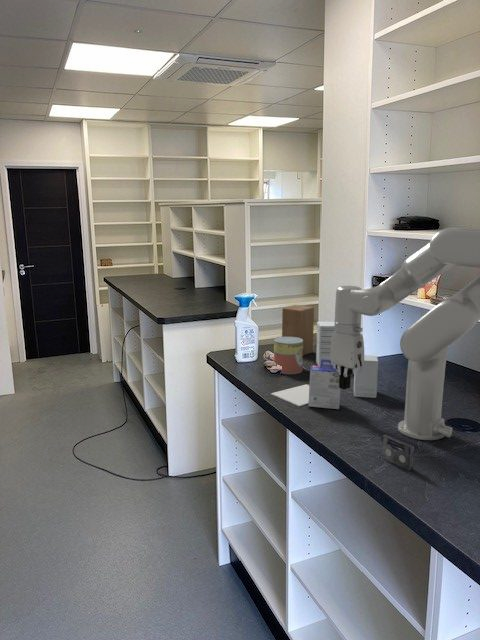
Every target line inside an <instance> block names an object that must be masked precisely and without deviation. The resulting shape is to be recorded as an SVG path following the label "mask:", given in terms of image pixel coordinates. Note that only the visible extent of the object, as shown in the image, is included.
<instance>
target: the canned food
mask: <svg viewBox="0 0 480 640" xmlns="http://www.w3.org/2000/svg"><path fill="white" fill-rule="evenodd" d="M303 356H304V355H303V339H301V338H298V337H282V336H278V337H275V338H274V339H273V363H274V362H275V363H276V364H278V365H280V366H282V370H281V372H280V373H279V374H281V373H282V375H296V374H300V373H302V372H303V370H304V369H303Z"/></svg>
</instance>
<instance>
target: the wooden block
mask: <svg viewBox="0 0 480 640" xmlns="http://www.w3.org/2000/svg"><path fill="white" fill-rule="evenodd" d="M281 310H282V313H281V320H282V322H281V337H298V338H301V339H303V356H305V355H309V354H312V353H313V351H314V326H315V325H314V324H315V323H314V321H315V308H314V307H313V306H306V305H297V304H295V305H290V306H284V307H282V309H281Z"/></svg>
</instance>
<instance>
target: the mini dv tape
mask: <svg viewBox="0 0 480 640" xmlns="http://www.w3.org/2000/svg"><path fill="white" fill-rule="evenodd" d="M381 439H382V440H381V456H380V459H382V460H385V461H387V462H389V463H392V464H393V465H395V466H398V468H399V467H400V468H401V469H403V470H406V471H408V472H410V471H411V470H414V459H415V458H414V457H415V446H414V445H412V444H408V443H406V442H404V441H402V440H400V439H396V438H394V437H393V436H390V435H387V434H384V435H383V434H382V438H381Z"/></svg>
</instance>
